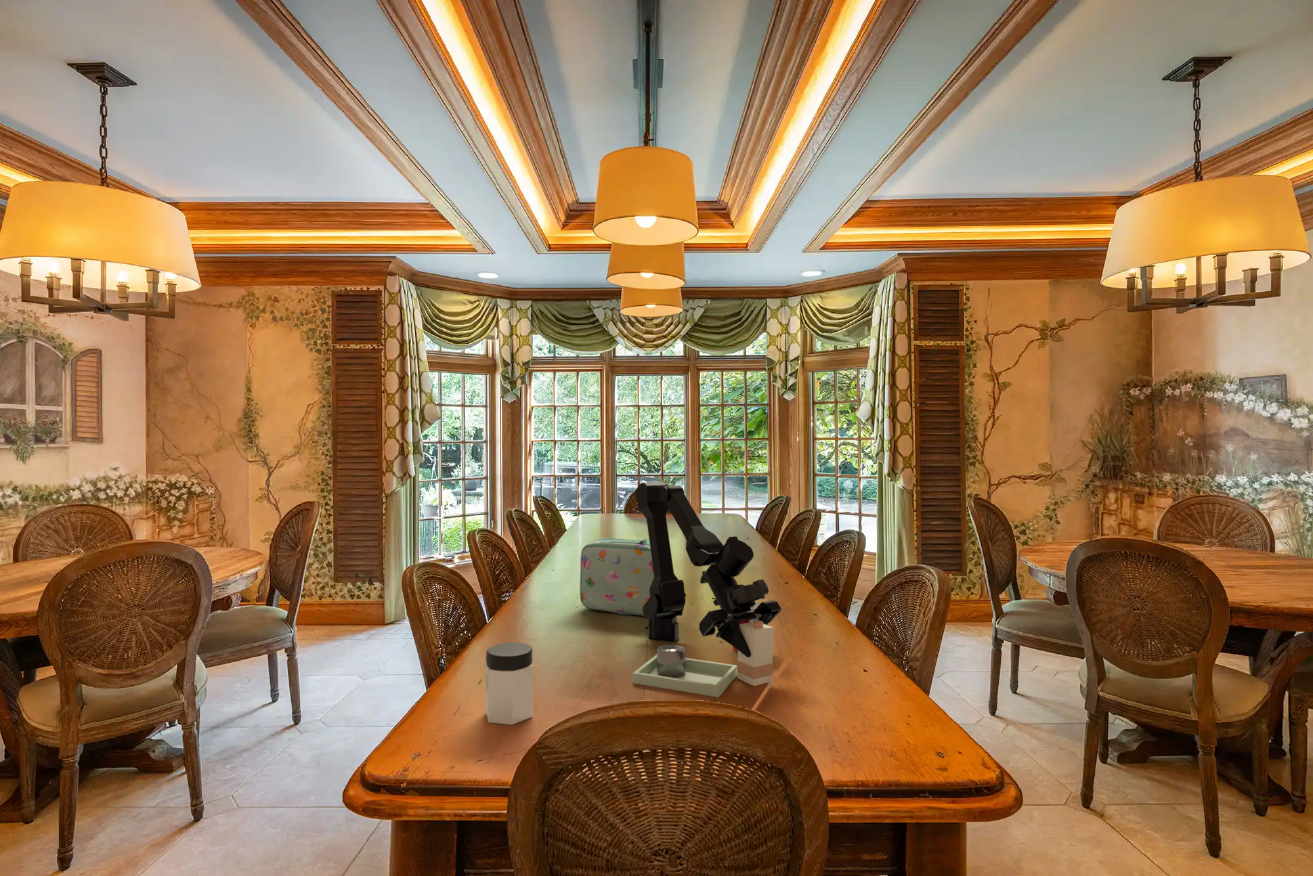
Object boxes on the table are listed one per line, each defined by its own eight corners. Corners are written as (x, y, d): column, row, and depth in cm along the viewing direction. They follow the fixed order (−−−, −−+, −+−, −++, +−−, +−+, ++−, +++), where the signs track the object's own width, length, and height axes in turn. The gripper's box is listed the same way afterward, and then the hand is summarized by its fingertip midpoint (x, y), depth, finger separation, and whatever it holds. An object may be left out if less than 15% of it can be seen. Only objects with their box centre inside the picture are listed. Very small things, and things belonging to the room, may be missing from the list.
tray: (632, 688, 137) (632, 673, 137) (657, 667, 149) (657, 653, 149) (718, 702, 130) (718, 686, 130) (737, 679, 142) (737, 665, 142)
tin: (652, 675, 141) (652, 651, 141) (663, 666, 147) (663, 643, 147) (679, 679, 139) (679, 655, 139) (689, 670, 144) (689, 647, 144)
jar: (514, 702, 129) (515, 638, 129) (542, 713, 124) (543, 648, 124) (474, 716, 122) (474, 650, 122) (502, 729, 117) (503, 660, 117)
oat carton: (737, 683, 140) (738, 620, 140) (755, 678, 143) (756, 616, 143) (753, 690, 136) (754, 625, 136) (772, 685, 139) (773, 622, 139)
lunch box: (676, 611, 196) (677, 537, 196) (665, 620, 186) (665, 542, 186) (591, 602, 205) (592, 531, 205) (576, 611, 195) (577, 536, 195)
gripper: (708, 572, 137) (743, 640, 128) (776, 563, 148) (813, 626, 139) (684, 602, 144) (716, 670, 135) (751, 592, 154) (785, 654, 145)
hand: (759, 654), depth 138 cm, fingers closed on oat carton, 5 cm apart
